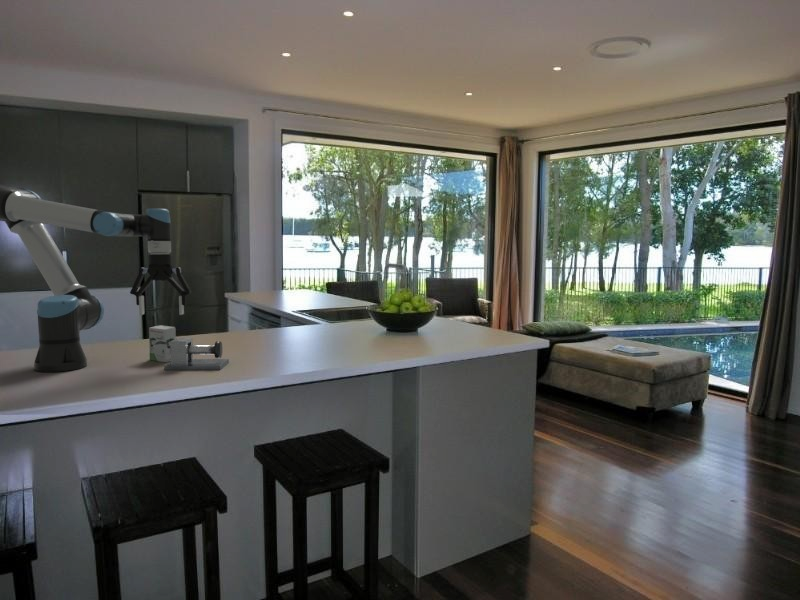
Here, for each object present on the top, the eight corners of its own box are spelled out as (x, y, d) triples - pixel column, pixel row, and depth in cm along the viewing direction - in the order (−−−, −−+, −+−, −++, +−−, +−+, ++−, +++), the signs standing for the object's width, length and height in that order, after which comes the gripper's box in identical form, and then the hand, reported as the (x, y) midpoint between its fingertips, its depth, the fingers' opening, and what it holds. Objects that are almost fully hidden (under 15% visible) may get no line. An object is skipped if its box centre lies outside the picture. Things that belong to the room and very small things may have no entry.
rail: (164, 370, 195) (163, 342, 194) (175, 362, 207) (175, 336, 206) (220, 369, 196) (219, 342, 195) (228, 362, 208) (228, 336, 207)
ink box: (148, 360, 212) (147, 326, 210) (160, 357, 216) (159, 325, 215) (165, 362, 207) (164, 328, 206) (177, 360, 212) (176, 326, 210)
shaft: (168, 359, 198) (168, 343, 197) (174, 356, 204) (173, 340, 203) (218, 359, 199) (218, 342, 198) (222, 356, 204) (222, 340, 204)
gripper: (118, 253, 204) (121, 315, 206) (193, 253, 205) (195, 315, 207) (127, 253, 211) (129, 313, 213) (199, 253, 212) (201, 313, 214)
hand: (161, 314), depth 210 cm, fingers open, 13 cm apart
